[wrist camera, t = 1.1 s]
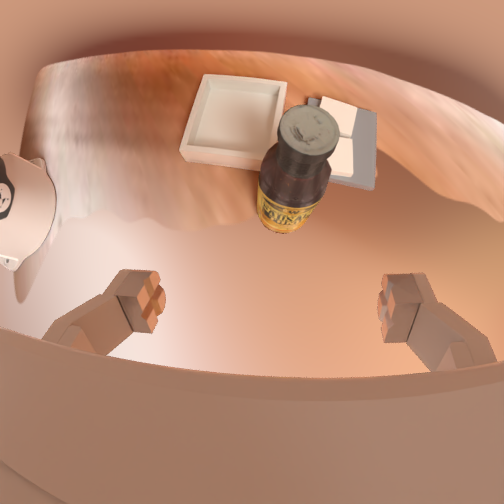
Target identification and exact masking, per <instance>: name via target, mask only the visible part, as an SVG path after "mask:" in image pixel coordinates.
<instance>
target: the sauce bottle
mask: <svg viewBox="0 0 504 504" xmlns="http://www.w3.org/2000/svg"><path fill="white" fill-rule="evenodd" d="M339 136H340V131H339V126H338V124H337V122H336V120H335V119H334V117H333V116H332V115H330V114H329V112H327V111H325V110H324V109H322V108H320V107H317V106H314V105H297V106H294V107H292V108H290V109H289V110H288V111H286V112H285V113H284V115H283V116H282V117H281V119H280V122H279V126H278V128H277V137H278V139H277V140H278V142H277V143H275V144H274V145H273V146H272V147H271V148H269V149H268V151H267V153H266V155H265V157H264V158H263V160H262V163H261V168H260V173H259V180H258V193H257V213H258V216H259V218H260V220H261V222H262V223H263V225H264V226H265V227H266V228H268V229H269V230H271V231H273V232H276V233H282V234H284V233H289V232H293V231H295V230H297V229H298V228H300V227H301V226H302V225H303V224H304V223H305V222H306V220H307V219H308V217H309V216H310V214H311V213H312V211H313V210H314V208H315V207H316V206H317V204H318V203H319V201H320V200H321V199H322V197H323V195H324V193H325V190H326V187H327V184H328V181H329V178H330V175H331V171H332V169H331V166H330V164H329V162H328V160H327V159H328V158H329V157H330V156H331V155H332V154H333V152H334V151H335V148H336V146H337V143H338V141H339Z"/></svg>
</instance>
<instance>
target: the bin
mask: <svg viewBox="0 0 504 504" xmlns="http://www.w3.org/2000/svg"><path fill="white" fill-rule="evenodd" d="M286 91H287V82H282V81H275V80H267V79H259V78H250V77H240V76H228V75H213V74H204V76H203V78H202V81H201V84H200V87H199V90H198V93H197V95H196V98H195V101H194V104H193V107H192V110H191V113H190V116H189V119H188V122H187V126H186V129H185V132H184V135H183V138H182V142H181V145H180V148H179V151H180V153H181V154H182V156H183V158H184V160H185V161H186V162H194V163H203V164H211V165H219V166H226V167H233V168H240V169H247V170H254V171H260V168H261V163H262V160H263V158H264V157H265V155H266V153H267V151H268V149H269V148H271V147H272V146H273V145H274V144H275V143H277V142H278V140H277V139H278V137H277V128H278V126H279V122H280V119H281V117H282V116H283V111H284V105H285V99H286Z"/></svg>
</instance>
